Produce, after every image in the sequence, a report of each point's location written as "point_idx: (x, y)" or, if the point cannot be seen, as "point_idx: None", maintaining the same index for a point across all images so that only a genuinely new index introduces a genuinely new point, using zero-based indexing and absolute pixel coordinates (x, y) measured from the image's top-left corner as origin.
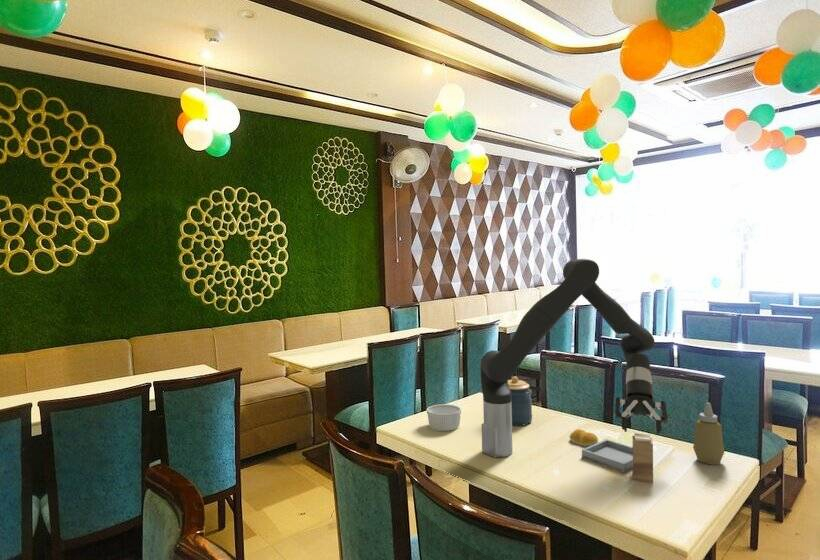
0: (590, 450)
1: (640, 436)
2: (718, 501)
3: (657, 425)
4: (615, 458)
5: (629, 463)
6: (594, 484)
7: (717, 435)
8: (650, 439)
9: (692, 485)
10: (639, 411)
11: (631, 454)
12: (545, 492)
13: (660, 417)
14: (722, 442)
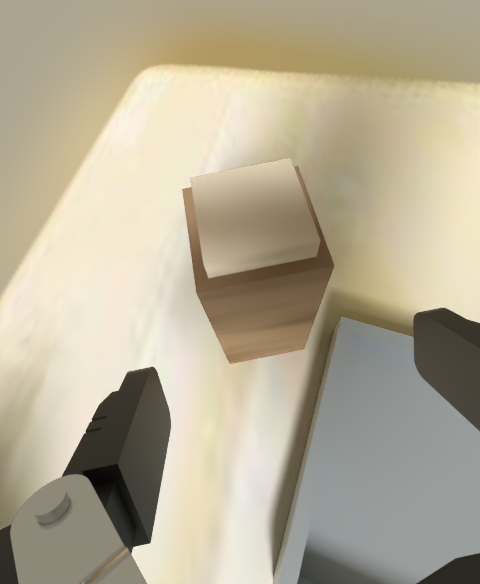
0: None
1: (262, 196)
2: (30, 272)
3: (118, 411)
4: (421, 447)
5: (328, 364)
6: (384, 189)
7: None
8: (191, 179)
9: (86, 350)
10: (421, 580)
11: (371, 580)
12: (469, 91)
13: (7, 577)
14: None
